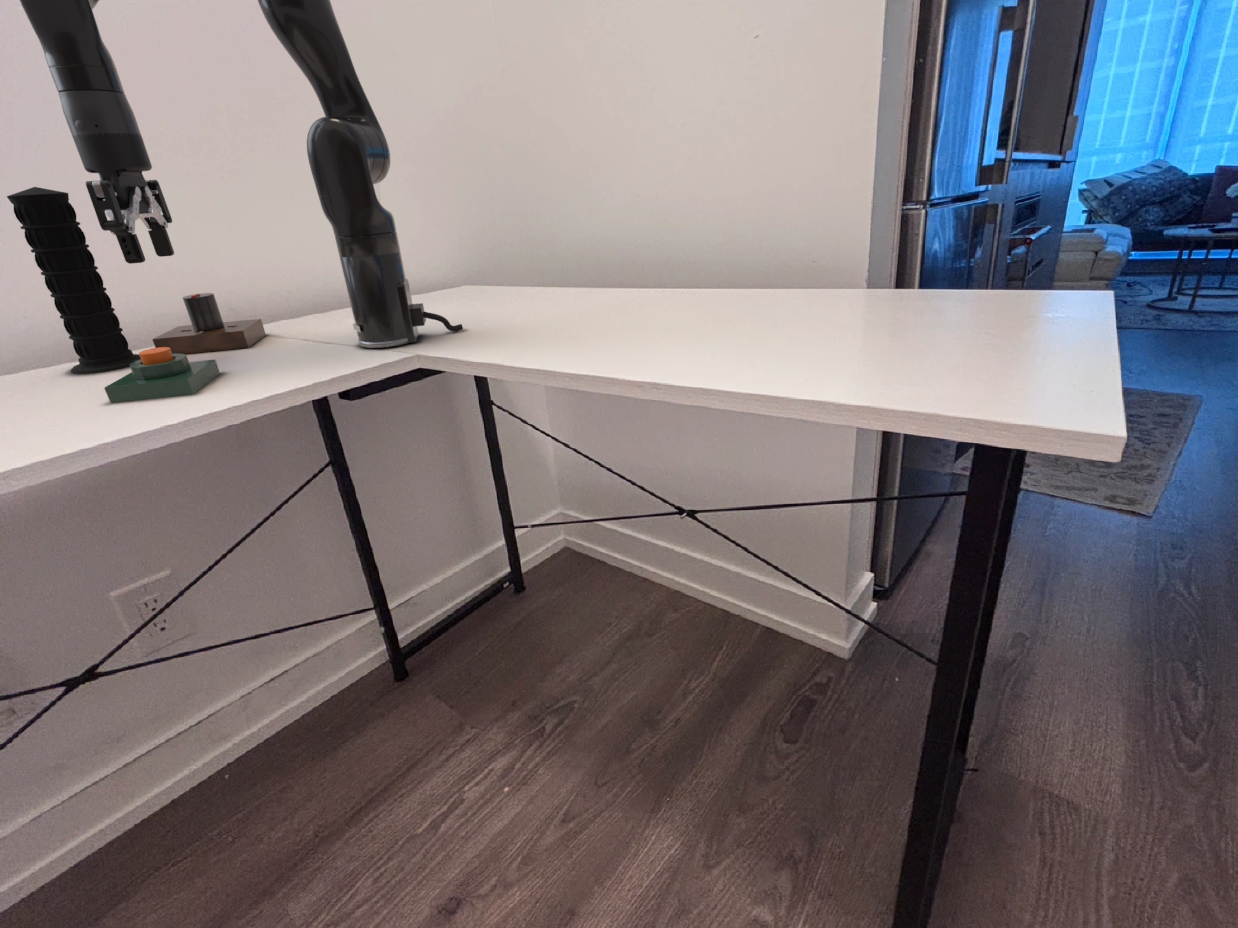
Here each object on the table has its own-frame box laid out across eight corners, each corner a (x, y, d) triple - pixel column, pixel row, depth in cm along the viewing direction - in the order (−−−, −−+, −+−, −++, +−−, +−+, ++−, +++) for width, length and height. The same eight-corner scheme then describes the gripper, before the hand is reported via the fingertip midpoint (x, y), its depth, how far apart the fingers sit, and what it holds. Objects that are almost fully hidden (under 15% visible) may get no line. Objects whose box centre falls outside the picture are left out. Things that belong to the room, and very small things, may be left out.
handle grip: (54, 374, 97) (106, 375, 95) (-32, 190, 86) (25, 186, 84) (112, 356, 106) (161, 356, 104) (42, 187, 94) (95, 183, 92)
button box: (220, 373, 92) (211, 347, 91) (193, 394, 83) (182, 365, 82) (146, 381, 91) (135, 354, 89) (110, 403, 82) (98, 374, 80)
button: (179, 358, 87) (174, 345, 87) (167, 364, 84) (163, 352, 83) (150, 360, 87) (146, 348, 86) (138, 367, 84) (133, 355, 83)
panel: (266, 334, 115) (260, 317, 114) (248, 348, 106) (242, 329, 105) (183, 342, 113) (177, 325, 112) (158, 356, 104) (151, 338, 103)
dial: (199, 326, 110) (188, 292, 107) (228, 323, 111) (217, 290, 108) (189, 332, 106) (177, 297, 103) (219, 329, 107) (207, 294, 104)
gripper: (107, 127, 77) (155, 263, 84) (162, 134, 90) (201, 252, 97) (40, 130, 76) (95, 267, 83) (106, 137, 89) (148, 255, 96)
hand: (152, 259), depth 90 cm, fingers open, 8 cm apart
